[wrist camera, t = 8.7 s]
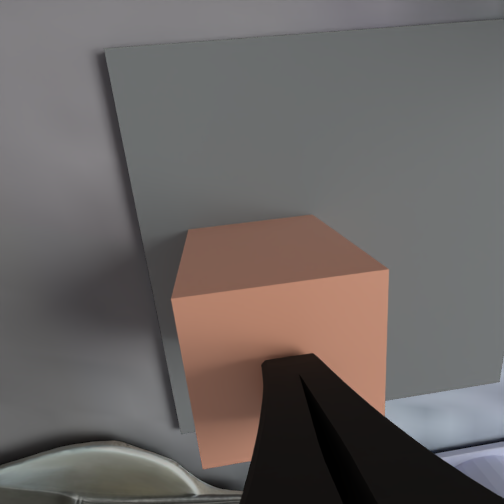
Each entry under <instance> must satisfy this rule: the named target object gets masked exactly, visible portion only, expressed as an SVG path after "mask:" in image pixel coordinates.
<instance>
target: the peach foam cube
mask: <svg viewBox="0 0 504 504" xmlns="http://www.w3.org/2000/svg"><path fill="white" fill-rule="evenodd" d="M388 288H389V269H388V268H387V267H385V266H384V265H382V264H381V263H380V262H378V261H377V260H375V259H374V258H373V257H371V256H370V255H368V254H367V253H366V252H364V251H363V250H361V249H360V248H359V247H357V246H356V245H354V244H353V243H352V242H350V241H349V240H347V239H346V238H345V237H343V236H342V235H340V234H339V233H338V232H336V231H335V230H333V229H332V228H331V227H329V226H328V225H326V224H325V223H324V222H322V221H321V220H319V219H318V218H317V217H315V216H314V215H304V216H296V217H288V218H279V219H271V220H263V221H255V222H246V223H238V224H230V225H221V226H213V227H205V228H197V229H188V233H187V237H186V241H185V245H184V249H183V253H182V257H181V261H180V265H179V269H178V273H177V277H176V281H175V285H174V289H173V293H172V297H171V302H172V307H173V312H174V318H175V323H176V328H177V334H178V339H179V344H180V350H181V355H182V360H183V366H184V371H185V376H186V382H187V387H188V393H189V398H190V403H191V409H192V414H193V419H194V425H195V430H196V435H197V441H198V446H199V451H200V457H201V462H202V467H203V469H208V468H213V467H219V466H225V465H230V464H236V463H242V462H247V461H251V459H252V455H253V450H254V445H255V441H256V436H257V432H258V426H259V420H260V413H261V406H262V397H263V377H262V367H261V364H262V363H263V362H264V361H265V360H269V359H276V358H283V357H289V356H296V355H303V354H309V353H314V354H315V355H316V356H318V357H319V358H320V359H321V360H322V361H323V362H324V363H325V364H326V365H327V366H328V367H329V368H330V369H331V370H332V371H333V372H334V373H335V374H336V375H337V376H339V377H340V378H341V379H342V380H343V381H344V382H345V383H346V384H347V385H348V386H349V387H351V388H352V389H353V390H354V391H355V392H356V393H357V394H359V395H360V396H361V397H362V398H363V399H364V400H366V401H367V402H368V403H369V404H370V405H372V406H373V407H374V408H375V409H376V410H377V411H379V412H380V413H381V414H382V415H383V416H385V387H386V354H387V321H388Z"/></svg>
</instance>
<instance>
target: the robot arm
mask: <svg viewBox="0 0 504 504" xmlns="http://www.w3.org/2000/svg"><path fill="white" fill-rule="evenodd" d="M261 367H262V377H263V397H262V406H261V413H260V420H259V426H258V432H257V436H256V441H255V445H254V450H253V455H252V459H251V464H250V468H249V471H248V475H247V479H246V483H245V486H244V490H243V493H242V496H241V500H240V503H239V504H504V441H503V442H497V443H492V444H486V445H480V446H475V447H469V448H464V449H458V450H452V451H447V452H441V453H436V454H434V453H432V452H431V451H429V450H428V449H427V448H425V447H424V446H423V445H421V444H420V443H418V442H417V441H416V440H414V439H413V438H412V437H410V436H409V435H408V434H406V433H405V432H404V431H403V430H401V429H400V428H399V427H397V426H396V425H395V424H393V423H392V422H391V421H390V420H388V419H387V418H386V417H385V416H383V415H382V414H381V413H380V412H379V411H377V410H376V409H375V408H374V407H373V406H372V405H370V404H369V403H368V402H367V401H366V400H364V399H363V398H362V397H361V396H360V395H359V394H357V393H356V392H355V391H354V390H353V389H352V388H351V387H349V386H348V385H347V384H346V383H345V382H344V381H343V380H342V379H341V378H340V377H339V376H337V375H336V374H335V373H334V372H333V371H332V370H331V369H330V368H329V367H328V366H327V365H326V364H325V363H324V362H323V361H322V360H321V359H320V358H319V357H318V356H316V355H315V354H314V353H309V354H303V355H296V356H289V357H283V358H276V359H269V360H265V361H264V362H263V363H262V364H261Z"/></svg>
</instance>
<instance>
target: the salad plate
mask: <svg viewBox="0 0 504 504" xmlns="http://www.w3.org/2000/svg"><path fill="white" fill-rule="evenodd" d="M242 493H243V491H235V490H227V489H220V488H217V487H214V486H211V485H209V484H207V483H205V482H203V481H201V480H199V479H198V478H196V477H195V476H194V475H192V474H191V473H189V472H188V471H187V470H185V469H184V468H183V467H182V466H181V465H179V464H178V463H177V462H176V461H174V460H172V459H170V458H167V457H164V456H161V455H159V454H156V453H154V452H151V451H148V450H144V449H141V448H138V447H135V446H133V445H130V444H128V443H125V442H121V441H114V440H113V441H94V442H87V443H81V444H73V445H68V446H63V447H58V448H55V449H52V450H49V451H45V452H41V453H38V454H35V455H32V456H29V457H26V458H22V459H19V460H16V461H12V462H9V463H6V464H2V465H0V504H239V503H240V500H241V496H242Z"/></svg>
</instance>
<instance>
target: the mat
mask: <svg viewBox="0 0 504 504" xmlns="http://www.w3.org/2000/svg"><path fill="white" fill-rule="evenodd" d="M104 52H105V57H106V62H107V67H108V72H109V77H110V82H111V87H112V92H113V97H114V102H115V107H116V112H117V117H118V122H119V127H120V132H121V137H122V142H123V147H124V152H125V157H126V162H127V167H128V172H129V177H130V182H131V187H132V192H133V197H134V202H135V207H136V212H137V217H138V222H139V227H140V232H141V237H142V242H143V247H144V252H145V257H146V262H147V267H148V272H149V277H150V282H151V287H152V292H153V297H154V302H155V307H156V312H157V317H158V322H159V327H160V332H161V337H162V342H163V347H164V352H165V357H166V362H167V367H168V372H169V377H170V382H171V387H172V392H173V397H174V402H175V407H176V412H177V417H178V422H179V427H180V432H181V434H185V433H191V432H196V430H195V425H194V419H193V414H192V409H191V403H190V398H189V393H188V387H187V382H186V376H185V371H184V366H183V360H182V355H181V350H180V344H179V339H178V334H177V328H176V323H175V318H174V312H173V307H172V302H171V297H172V293H173V289H174V285H175V281H176V277H177V273H178V269H179V265H180V261H181V257H182V253H183V249H184V245H185V241H186V237H187V233H188V229H197V228H205V227H213V226H221V225H230V224H238V223H246V222H255V221H263V220H271V219H279V218H288V217H296V216H304V215H314V216H315V217H317V218H318V219H319V220H321V221H322V222H324V223H325V224H326V225H328V226H329V227H331V228H332V229H333V230H335V231H336V232H338V233H339V234H340V235H342V236H343V237H345V238H346V239H347V240H349V241H350V242H352V243H353V244H354V245H356V246H357V247H359V248H360V249H361V250H363V251H364V252H366V253H367V254H368V255H370V256H371V257H373V258H374V259H375V260H377V261H378V262H380V263H381V264H382V265H384V266H385V267H387V268H388V269H389V288H388V321H387V354H386V387H385V401H387V400H393V399H399V398H405V397H411V396H417V395H424V394H430V393H436V392H442V391H448V390H454V389H460V388H466V387H472V386H478V385H485V384H491V383H497V382H500V375H501V369H502V363H503V356H504V19H496V20H482V21H469V22H455V23H442V24H428V25H415V26H401V27H388V28H374V29H361V30H347V31H334V32H320V33H307V34H293V35H280V36H266V37H253V38H239V39H226V40H212V41H199V42H185V43H172V44H158V45H145V46H131V47H118V48H104Z"/></svg>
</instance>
